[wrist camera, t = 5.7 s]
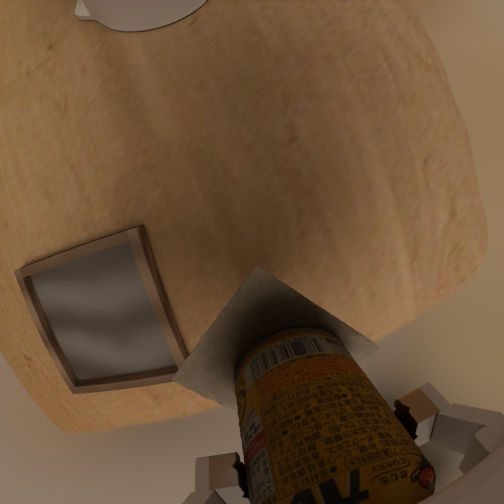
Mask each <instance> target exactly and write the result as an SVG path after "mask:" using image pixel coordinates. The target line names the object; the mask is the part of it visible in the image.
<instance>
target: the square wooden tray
mask: <svg viewBox="0 0 504 504" xmlns="http://www.w3.org/2000/svg"><path fill="white" fill-rule="evenodd" d="M14 272H15V275H16V278H17V281H18V284H19V286H20V289H21V292H22V294H23V297H24V299H25V302H26V304H27V307H28V309H29V311H30V314H31V316H32V318H33V321H34V323H35V325H36V327H37V329H38V332H39V334H40V336H41V338H42V340H43V342H44V344H45V346H46V348H47V350H48V352H49V354H50V356H51V357H52V359H53V361H54V363H55V365H56V367H57V368H58V370H59V372H60V374H61V375H62V377H63V379H64V380H65V382H66V384H67V385H68V387H69V389H70V390H71V392H72V393H73V394H80V393H92V392H102V391H111V390H120V389H128V388H135V387H142V386H149V385H155V384H161V383H167V382H173V380H172V378H173V377H174V375H175V374H176V373H177V371H178V370H179V369H180V367H181V366H182V364H183V363H184V361H185V360H186V359H187V357H188V356H189V354H188V351H187V349H186V346H185V344H184V342H183V339H182V337H181V334H180V332H179V329H178V326H177V324H176V321H175V319H174V316H173V313H172V311H171V308H170V305H169V302H168V300H167V297H166V294H165V291H164V288H163V286H162V283H161V280H160V277H159V274H158V271H157V268H156V265H155V262H154V259H153V256H152V252H151V249H150V246H149V243H148V240H147V236H146V233H145V229H144V226H143V225H140V226H136V227H133V228H130V229H127V230H124V231H121V232H118V233H115V234H112V235H109V236H106V237H103V238H100V239H97V240H94V241H91V242H88V243H85V244H82V245H79V246H77V247H74V248H71V249H68V250H65V251H63V252H60V253H57V254H55V255H52V256H49V257H47V258H44V259H41V260H39V261H36V262H33V263H31V264H28V265H26V266H24V267H22V268H20V269H18V270H16V271H14Z"/></svg>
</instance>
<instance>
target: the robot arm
mask: <svg viewBox="0 0 504 504" xmlns="http://www.w3.org/2000/svg"><path fill="white" fill-rule="evenodd" d="M206 1H207V0H78V1H77V4H76V8H75V15H76V17H77V18H78V19H80V20H95V21H98V22H100V23H101V24H103V25H104V26H106V27H108V28H111V29H114V30H119V31H143V30H149V29H154V28H158V27H161V26H164V25H167V24H170V23H173V22H175V21H177V20H179V19H182V18H183V17H185V16H187V15H189V14H191V13H192V12H194V11H195V10H197V9H198V8H199V7H200V6H202V5H203V4H204V3H205V2H206ZM394 406H395V408H396V410H395V411H394V414H395V415H396V416H397V418H398V419H399V421H400V422H401V424H402V425H403V427H404V428H405V429H406V430H407V431H408V433H409V435H410V436H411V437H412V439H413V440H414V442H415V443H416V445H418V446H421V445H423V444H424V443H426V442H428V441H430V442H432V443H435V444H437V445H439V446H442V447H444V448H447V449H450V450H452V451H455V452H458V453H460V454H463V455H464V457H463V459H462V462H461V463H460V466H459V468H460V470H461V471H462V473H463V475H462V476H461V477H459V478H458V479H457V480H455V481H453V482H452V483H450V484H449V485H447V486H446V487H444V488H443V489H441V490H439V491H438V492H436V493H434V494H433V495H431V496H429V497H428V498H426V499H424V500H423V501H421V502H419V503H417V504H504V415H503V414H502V413H501V412H496V411H491V410H485V409H480V408H475V407H470V406H465V405H461V404H455V403H453V404H450V403H449V402H448V401H447V400H446V399H445V398H444V397H443V396H442V395H441V394H440V393H439V392H438V391H437V390H436V389H435V388H434V387H433V386H432V385H431V384H430V383H426V384H424V385H422V386H420V387H419V388H417V389H414V390H412V391H411V392H409V393H407V394H405V395H403V396H401V397H399V398H397V399H396V400H395V401H394ZM195 463H196V464H195V492H191V493H190V494H189V496H188V497H187V498H186V499H185V501H184V502H183V503H182V504H250V500H249V494H248V487H247V479H246V472H245V465H244V464H243V462H240V456H239V454H238V453H237V452H235V453H229V454H221V455H214V456H207V457H199V458H197V459H196V462H195Z"/></svg>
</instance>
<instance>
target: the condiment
mask: <svg viewBox="0 0 504 504" xmlns="http://www.w3.org/2000/svg"><path fill="white" fill-rule="evenodd" d="M379 349H380V346H379V345H377V344H375V343H374V342H372V341H371V340H369V339H368V338H366V337H365V336H364V335H362V334H361V333H359V332H357V331H356V330H354V329H353V328H351V327H350V326H348V325H347V324H345V323H344V322H342V321H341V320H339V319H338V318H336V317H335V316H333V315H332V314H330V313H328V312H327V311H326V310H324V309H322V308H321V307H319V306H317V305H316V304H314V303H313V302H312V301H310V300H309V299H307V298H306V297H304V296H303V295H301V294H300V293H298V292H297V291H295V290H294V289H293V288H291V287H289V286H288V285H286V284H284V283H283V282H281V281H280V280H278V279H277V278H275V277H274V276H272V275H271V274H269V273H268V272H266V271H265V270H263V269H262V268H260V267H259V266H256V267H255V268H254V270H253V271H252V272H251V274H250V275H249V276H248V278H247V279H246V280H245V281H244V282H243V284H242V285H241V286H240V288H239V289H238V290H237V292H236V293H235V294H234V296H233V297H232V298H231V300H230V301H229V302H228V304H227V305H226V307H225V308H224V309H223V310H222V311H221V313H220V314H219V316H218V317H217V318H216V320H215V321H214V322H213V324H212V325H211V326H210V328H209V329H208V331H207V332H206V333H205V334H204V335H203V336H202V338H201V339H200V341H199V343H198V344H197V346H196V347H195V348H194V350H193V351H192V352H191V354H190V355H189V356H188V357H187V359H186V360H185V361H184V363H183V364H182V366H181V367H180V369H179V370H178V371H177V373H176V374H175V375H174V377H173V378H172V380H173V381H175V382H177V383H179V384H181V385H182V386H184V387H186V388H188V389H190V390H193V391H195V392H197V393H199V394H200V395H202V396H204V397H206V398H209V399H212V400H214V401H216V402H218V403H220V404H222V405H224V406H227V407H230V408H232V409H235V410H237V411H238V417H239V427H240V433H241V434H240V436H241V440H242V449H243V455H244V463H245V464H244V465H245V472H246V479H247V487H248V494H249V500H250V504H417V503H419V502H421V501H423V500H424V499H426V498H428V497H429V496H431V495H433V493H434V489H435V481H436V475H435V471H434V468H433V466H432V465H431V463H430V462H429V461H428V460H427V459H426V457H425V456H424V454H423V453H422V451H421V450H420V448H419V446H418V445H416V443H415V442H414V440H413V439H412V437H411V436H410V435H409V433H408V431H407V430H406V429H405V428H404V427H403V425H402V424H401V422H400V421H399V419H398V418H397V416H396V415H395V414H394V412H393V411H392V410H391V408H390V407H389V406H388V404H387V403H386V401H385V399H383V398H382V396H381V395H380V393H379V392H378V391H377V390H376V388H375V387H374V385H373V384H372V383H371V381H370V380H369V378H368V377H367V376H366V374H365V373H364V372H363V371H362V369H363V368H364V367H365V365H366V364H367V363H368V362H369V361H370V360H371V359H372V357H373V356H374V355H375V354H376V353H377V351H378V350H379Z"/></svg>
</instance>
